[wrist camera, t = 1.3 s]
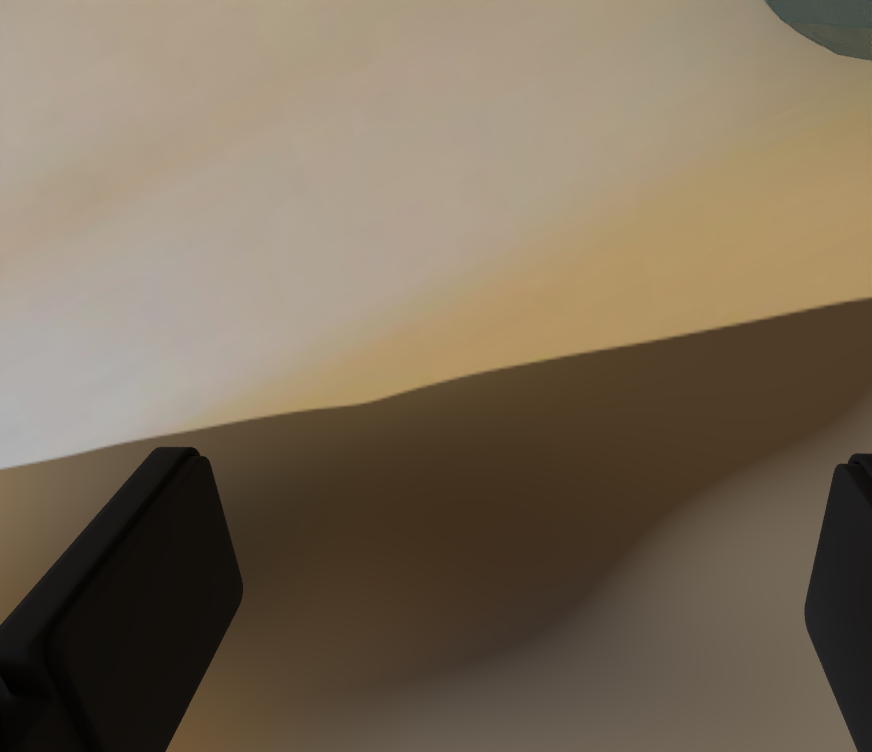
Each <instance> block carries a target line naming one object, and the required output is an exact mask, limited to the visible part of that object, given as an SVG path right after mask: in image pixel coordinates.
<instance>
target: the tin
mask: <svg viewBox="0 0 872 752" xmlns="http://www.w3.org/2000/svg"><path fill="white" fill-rule="evenodd" d="M765 2H766V3H767V4H768V5H769V6H770V7H771V9H772V10H773V11H774V12H775V13H776V14H777V15H778V16H779V18H780V19H781V20H783V21H784V22H785V23H786V24H788V25H790V26H791V27H792V28H793V29H794V30H795V31H797V32H798V33H800V34H802V35H803V36H805V37H807V38H809V39H810V40H812V41H814V42H815V43H817V44H819V45H821V46H824V47H825V48H827V49H829V50H830V51H832V52H833V53H836V54H838V55H843V56H849V57H854V58H860V59H865V60H871V61H872V0H765Z"/></svg>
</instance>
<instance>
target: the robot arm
mask: <svg viewBox="0 0 872 752" xmlns="http://www.w3.org/2000/svg"><path fill="white" fill-rule="evenodd" d="M242 593H243V583H242V578H241V574H240V571H239V567H238V563H237V560H236V556H235V552H234V549H233V545H232V541H231V538H230V534H229V530H228V527H227V523H226V519H225V516H224V512H223V508H222V505H221V501H220V497H219V494H218V490H217V486H216V483H215V479H214V476H213V472H212V468H211V465H210V462H209V460H208V459H207V458H206V457H204V456H200V454H199V452H198V451H197V450H196V449H195V448H193V447H159V448H156V449H155V450H153V451H152V452H151V454H150V455H149V456H148V457H147V458H146V459H145V461H144V462H143V463H142V464H141V465H140V466H139V467H138V468H137V470H136V471H135V472H134V473H133V474H132V475H131V477H130V478H129V479H128V480H127V481H126V482H125V483H124V484H123V486H122V487H121V488H120V489H119V490H118V491H117V493H116V494H115V495H114V496H113V497H112V498H111V499H110V501H109V502H108V503H107V504H106V505H105V506H104V507H103V509H102V510H101V511H100V512H99V513H98V514H97V515H96V517H95V518H94V519H93V520H92V521H91V522H90V523H89V525H88V526H87V527H86V528H85V529H84V531H82V533H81V534H80V535H79V536H78V537H77V538H76V539H75V541H74V542H73V543H72V544H71V545H70V546H69V548H68V549H67V550H66V551H65V552H64V553H63V554H62V555H61V557H60V558H59V559H58V560H57V561H56V562H55V564H54V565H53V566H52V567H51V568H50V569H49V570H48V572H47V573H46V574H45V575H44V576H43V577H42V578H41V580H40V581H39V582H38V583H37V584H36V585H35V586H34V588H33V589H32V590H31V591H30V592H29V593H28V595H27V596H26V597H25V598H24V599H23V600H22V601H21V603H20V604H19V605H18V606H17V607H16V608H15V609H14V611H13V612H12V613H11V614H10V615H9V616H8V617H7V619H6V620H5V621H4V622H3V623H2V624H1V625H0V752H165V751H166V749H167V747H168V745H169V743H170V741H171V740H172V737H173V736H174V733H175V732H176V730H177V728H178V726H179V724H180V722H181V720H182V718H183V716H184V714H185V712H186V710H187V708H188V706H189V704H190V702H191V700H192V698H193V696H194V694H195V692H196V690H197V688H198V686H199V684H200V682H201V680H202V678H203V676H204V674H205V672H206V670H207V668H208V667H209V665H210V663H211V660H212V659H213V657H214V654H215V653H216V651H217V649H218V647H219V645H220V643H221V641H222V639H223V637H224V635H225V633H226V631H227V629H228V627H229V625H230V623H231V621H232V619H233V617H234V615H235V613H236V611H237V609H238V607H239V605H240V602H241V599H242ZM805 622H806V627H807V630H808V633H809V635H810V638H811V640H812V643H813V645H814V647H815V650H816V652H817V655H818V657H819V659H820V662H821V664H822V667H823V669H824V672H825V674H826V676H827V679H828V681H829V683H830V686H831V688H832V691H833V693H834V696H835V698H836V700H837V703H838V705H839V707H840V710H841V712H842V715H843V717H844V719H845V722H846V724H847V727H848V729H849V731H850V734H851V736H852V739H853V741H854V743H855V746H856V748H857V751H858V752H872V454H854V455H852V456H851V458H850V459H849V461H848V464H839V465H837V467H836V468H835V471H834V474H833V478H832V483H831V488H830V492H829V497H828V501H827V506H826V511H825V515H824V520H823V524H822V529H821V533H820V538H819V543H818V547H817V552H816V556H815V561H814V566H813V571H812V575H811V579H810V584H809V588H808V593H807V597H806V602H805Z"/></svg>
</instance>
